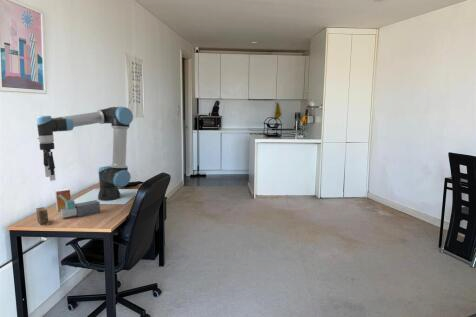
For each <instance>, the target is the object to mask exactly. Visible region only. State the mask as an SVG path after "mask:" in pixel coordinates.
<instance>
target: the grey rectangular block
mask: <svg viewBox="0 0 476 317" xmlns="http://www.w3.org/2000/svg"><path fill="white" fill-rule="evenodd" d="M75 207H77V214H78V215H75V216H76V217H77V218H80V217H86V216H91V215H95V214H100V213H101V205H100V201H98V200H96V199H94V200H90V201H84V202H80V203H79V202H78V203H75Z"/></svg>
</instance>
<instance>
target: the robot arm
mask: <svg viewBox="0 0 476 317" xmlns="http://www.w3.org/2000/svg"><path fill="white" fill-rule="evenodd" d="M133 120H134V113H133V112H132V110H131V109H130V108H128V107H126V106H111V107H108V108H107V107H106V108H103V109H98V110H96V111H94V112H93V111H92V112H86V113H78V114H74V115H73V114H72V115H66V116H65V115H64V116H60V117H52V116H51V115H39V116H37V118H36V126H37V134H38V137H37V139H38V143H39V149H40V151H42V153H43V155H42V156H43V165H44V174H45V175H44V176H45V178H49V181H50V182H51V181H53V182H54V181H56V173H55V172H56V171H55V169H56V166H55V165H56V164H55V160H54V156H53V151H51V150H55V143H54V142H55V139H54V138H55V137H54V132H55V133H56V132H57V133H58V132H70V131H73V130H74V128H75V127H77V128H78V127H83V126H88V125H94V124H100V125H102V124H111V125H110V126H111V128H112V129H113V137H112V138H113V140H112V142H113V143H112V163H111V165H106V166H100V167H99V168H98V180H99V181H98V182H99V190H98V195H97V199H98V200H99V201H113V200H117V198H118V199H120V198H121V192H120V189H119V187H120V188H121V187H122V188H123V187H125V186H127V185H128V184H129V182H131V179H132V178H131V177H132V176H131V172H129V171H128V170H129V169H128V168H129V167H128V165H127V164H126V162H127V161H126V160H127V140H128V139H127V138H128V137H127V136H128V129H129V128H130V124H131V123H132V122H133Z"/></svg>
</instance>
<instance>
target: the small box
mask: <svg viewBox="0 0 476 317" xmlns="http://www.w3.org/2000/svg"><path fill="white" fill-rule="evenodd" d="M54 195H55V204H56V205H55V206H56V211H57V212H61V210H60V209H65V208H66V206H65V201H66V200H72V198H71V197H72V196H71V189H70V188H69V187H67V188H66V187H65V188H59V189H54Z"/></svg>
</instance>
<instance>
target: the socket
mask: <svg viewBox="0 0 476 317" xmlns="http://www.w3.org/2000/svg"><path fill="white" fill-rule="evenodd" d="M35 209H36V218H37V222H38V224H39V226H43V225H49V215H48V209H47V208H46V207H45V206H42V207H36V208H35Z"/></svg>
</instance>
